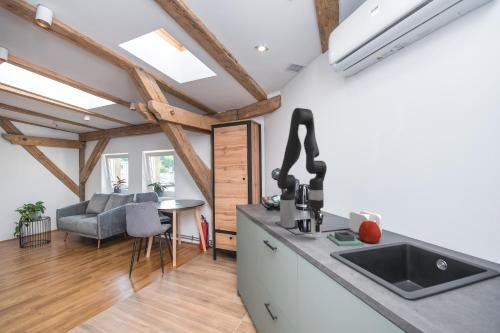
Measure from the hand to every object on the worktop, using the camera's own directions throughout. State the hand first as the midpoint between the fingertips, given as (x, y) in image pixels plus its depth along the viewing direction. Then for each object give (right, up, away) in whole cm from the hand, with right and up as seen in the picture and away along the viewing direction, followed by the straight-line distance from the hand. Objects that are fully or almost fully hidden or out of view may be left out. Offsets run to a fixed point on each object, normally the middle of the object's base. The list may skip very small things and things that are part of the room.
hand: (315, 230), depth 117 cm
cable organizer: (+31, -5, +10) cm, 33 cm away
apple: (+26, -4, -4) cm, 27 cm away
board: (+14, -4, -4) cm, 15 cm away
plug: (0, -2, 0) cm, 2 cm away
